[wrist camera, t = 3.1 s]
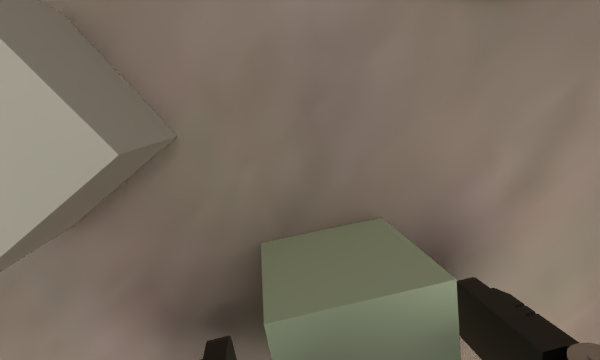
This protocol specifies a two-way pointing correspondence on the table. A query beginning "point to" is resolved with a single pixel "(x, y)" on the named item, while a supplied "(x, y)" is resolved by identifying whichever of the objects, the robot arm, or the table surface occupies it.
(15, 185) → the grey cube
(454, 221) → the table surface
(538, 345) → the robot arm
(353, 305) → the green cube
